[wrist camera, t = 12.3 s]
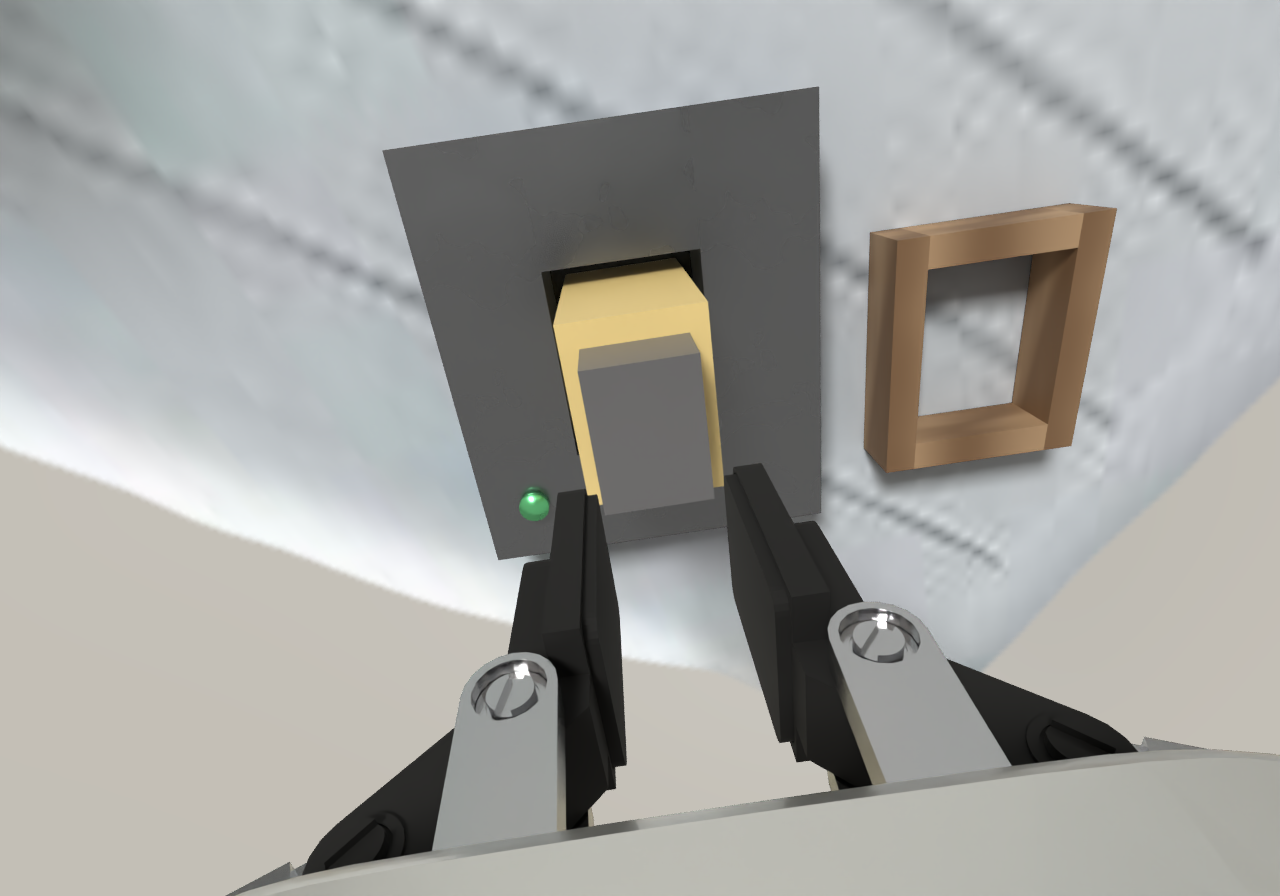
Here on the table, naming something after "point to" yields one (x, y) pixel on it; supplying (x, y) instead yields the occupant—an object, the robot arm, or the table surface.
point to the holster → (1050, 339)
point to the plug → (640, 385)
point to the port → (612, 231)
